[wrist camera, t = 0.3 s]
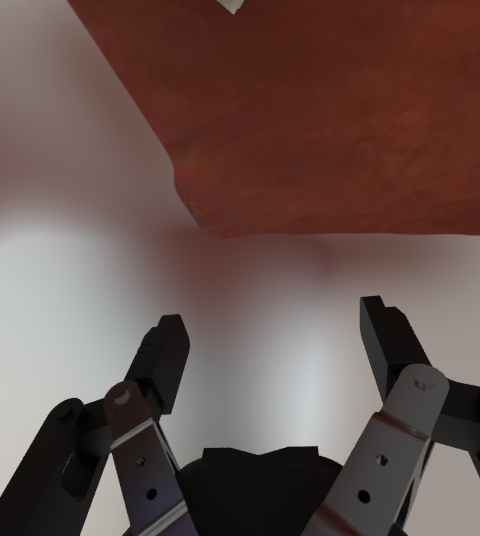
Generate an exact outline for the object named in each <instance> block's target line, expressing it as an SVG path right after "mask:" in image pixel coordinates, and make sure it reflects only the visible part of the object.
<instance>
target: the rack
mask: <svg viewBox="0 0 480 536" xmlns="http://www.w3.org/2000/svg"><path fill="white" fill-rule="evenodd" d="M217 1H218V2H219V3H221V4H222V5H223V6H224V7H225V8H226V9H228V10H229V11H230V12H231V13H232V14H235V12H236V10H237V8H238V9H240V7H241V5H242V3H243V1H244V0H217Z"/></svg>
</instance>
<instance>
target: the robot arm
mask: <svg viewBox="0 0 480 536" xmlns="http://www.w3.org/2000/svg"><path fill="white" fill-rule="evenodd" d="M360 331H361V336H362V340H363V343H364V346H365V350H366V352H367V356H368V359H369V362H370V365H371V368H372V371H373V374H374V377H375V380H376V383H377V386H378V390H379V392H380V396H381V399H382V402H383V407H382V409H381V410H380V412H375V413H374V414H373V415H372V417H371V418H370V420H369V422H368V424H367V425H366V427H365V429H364V431H363V432H362V434H361V436H360V438H359V440H358V441H357V443H356V445H355V447H354V448H353V450H352V452H351V454H350V456H349V457H348V459H347V461H346V463H345V465H344V466H342V465H341V464H339V463H337V462H335V461H333V460H331V459H328V458H326V457H323V456H319V453H318V446H307V447H286V448H282V449H279V450H275V451H272V452H269V453H265V454H262V455H256V454H252V453H248V452H245V451H241V450H237V449H233V448H204V451H203V455H202V458H199V459H197V460H195V461H193V462H191V463H189V464H187V465H186V466H185V467H183V468H182V469H180V468H179V466H178V464H177V461H176V459H175V457H174V455H173V453H172V451H171V448H170V446H169V443H168V441H167V439H166V437H165V435H164V432H163V430H162V428H161V426H160V424H159V420H160V417H161V415H166V414H171V412H172V409H173V405H174V402H175V399H176V395H177V391H178V388H179V385H180V381H181V378H182V374H183V371H184V367H185V364H186V361H187V357H188V354H189V349H190V341H189V337H188V334H187V331H186V329H185V326H184V323H183V321H182V318H181V316H180V315H179V314H172V315H163V316H162V317H161V319H160V321H159V323H158V326H157V327H152V328H151V329H150V331H149V332H148V333H147V334H146V335H145V336H144V338H143V340H142V342H141V346H140V347H139V349H138V351H137V354H136V355H135V357H134V360H133V362H132V364H131V366H130V368H129V370H128V373H127V374H126V376H125V379H124V381H122V382H119V383H117V384H116V385H114V386H113V387H112V388H111V389H110V390H109V391H108V392H107V394H106V395H105V397H104V398H103V399H100V400H97V401H94V402H91V403H88V404H85V405H84V404H83V402H82V401H81V400H80V399H78V398H70V399H67V400H65V401H63V402H61V403H60V404H58V405H57V406H56V407H54V408H53V409H52V411H51V412H50V413H49V415H48V416H47V418H46V420H45V421H44V423H43V425H42V426H41V428H40V430H39V432H38V433H37V435H36V437H35V438H34V440H33V442H32V444H31V445H30V447H29V449H28V450H27V452H26V454H25V456H24V457H23V459H22V461H21V463H20V465H19V466H18V468H17V469H16V471H15V473H14V475H13V476H12V478H11V480H10V481H9V483H8V485H7V487H6V488H5V490H4V492H3V493H2V495H1V497H0V536H80V533H81V530H82V528H83V525H84V522H85V520H86V517H87V514H88V511H89V509H90V506H91V503H92V500H93V498H94V495H95V492H96V489H97V487H98V484H99V481H100V478H101V476H102V473H103V470H104V467H105V465H106V462H107V459H108V456H109V454H110V453H112V456H113V460H114V464H115V467H116V471H117V475H118V479H119V483H120V487H121V491H122V495H123V498H124V502H125V506H126V510H127V514H128V518H129V521H130V527H129V528H128V529H127V531H126V532H125V533H124V534H123V535H122V536H408V535H407V534H406V533H405V532H404V531H403V529H404V527H405V524H406V521H407V519H408V516H409V514H410V511H411V508H412V505H413V503H414V500H415V497H416V493H417V490H418V487H419V484H420V482H421V479H422V476H423V474H424V471H425V469H426V466H427V464H428V461H429V458H430V456H431V453H432V451H433V448H434V445H435V443H436V442H437V443H440V444H444V445H447V446H451V447H455V448H458V449H462V450H465V451H468V452H469V454H470V456H471V459H472V461H473V463H474V466H475V468H476V470H477V473H478V475H479V477H480V387H479V386H474V385H469V384H464V383H459V382H456V381H453V380H450V379H448V378H446V377H445V375H444V374H443V373H442V372H440V371H439V370H438V369H436V368H434V367H433V366H432V365H431V363H430V361H429V360H428V358H427V356H426V354H425V352H424V350H423V348H422V346H421V344H420V342H419V340H418V338H417V337H416V335H415V334H414V331H413V329H412V327H411V326H410V323H409V321H408V320H407V318H406V316H405V314H404V313H402V312H401V311H400V310H399V309H397V308H396V307H385V306H384V304H383V301H382V299H381V297H380V296H379V295H378V296H368V297H361V298H360ZM70 456H71V457H70ZM69 458H70V459H69ZM68 460H69V461H68ZM67 462H68V463H67ZM66 464H67V465H66ZM64 469H65V470H64ZM63 471H64V472H63ZM62 473H63V474H62Z"/></svg>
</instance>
